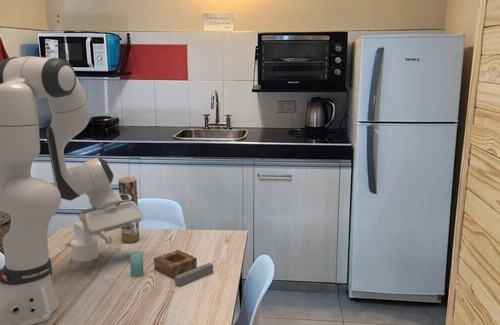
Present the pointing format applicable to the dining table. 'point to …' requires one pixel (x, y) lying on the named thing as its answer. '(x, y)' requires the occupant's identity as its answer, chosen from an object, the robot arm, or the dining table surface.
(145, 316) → the dining table surface
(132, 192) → the wooden log cylinder
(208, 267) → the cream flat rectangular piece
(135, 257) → the teal rounded peg
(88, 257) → the base with upright slab
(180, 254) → the socket block
